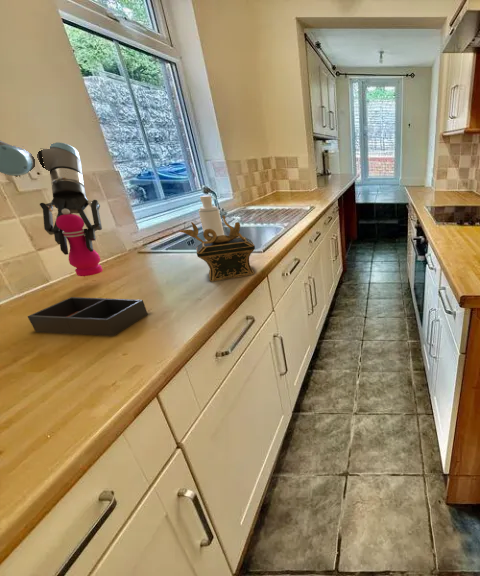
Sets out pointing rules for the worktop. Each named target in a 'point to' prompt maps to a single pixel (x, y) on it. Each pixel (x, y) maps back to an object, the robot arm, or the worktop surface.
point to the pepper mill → (78, 245)
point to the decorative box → (224, 252)
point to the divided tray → (88, 316)
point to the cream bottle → (210, 216)
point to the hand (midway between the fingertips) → (77, 250)
